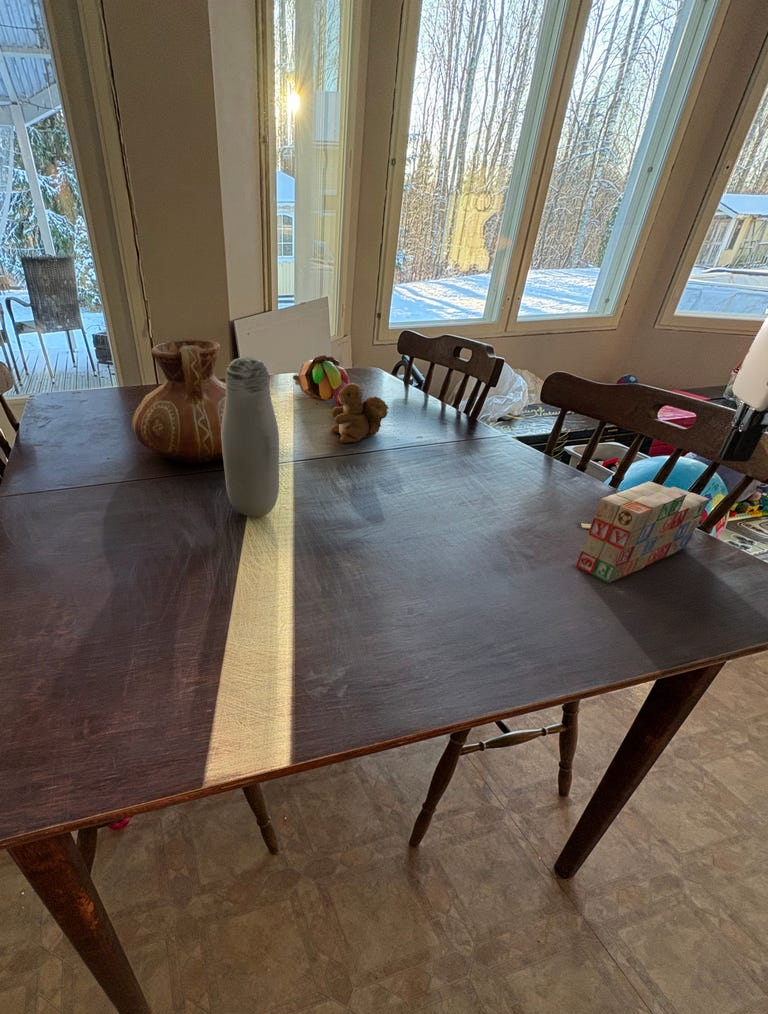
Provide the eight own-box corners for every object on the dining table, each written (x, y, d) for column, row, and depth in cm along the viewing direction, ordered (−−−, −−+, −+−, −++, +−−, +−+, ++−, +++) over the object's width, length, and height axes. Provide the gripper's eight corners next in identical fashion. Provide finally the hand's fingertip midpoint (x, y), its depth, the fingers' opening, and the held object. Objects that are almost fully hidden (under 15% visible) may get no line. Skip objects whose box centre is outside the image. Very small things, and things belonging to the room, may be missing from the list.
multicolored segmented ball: (326, 369, 178) (364, 355, 157) (321, 416, 183) (357, 410, 161) (285, 360, 173) (318, 345, 151) (281, 410, 177) (312, 403, 155)
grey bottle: (219, 516, 105) (202, 360, 87) (251, 498, 111) (242, 349, 94) (258, 529, 100) (249, 367, 83) (289, 509, 107) (287, 355, 89)
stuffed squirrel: (328, 431, 144) (329, 379, 136) (379, 429, 145) (383, 376, 137) (334, 444, 136) (336, 389, 128) (387, 441, 137) (393, 386, 129)
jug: (118, 447, 136) (94, 337, 121) (214, 422, 151) (204, 322, 135) (178, 481, 119) (159, 358, 103) (281, 450, 133) (278, 337, 118)
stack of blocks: (651, 534, 97) (682, 468, 89) (685, 548, 93) (721, 481, 85) (574, 566, 89) (601, 497, 81) (608, 584, 84) (640, 512, 77)
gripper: (890, 310, 54) (789, 482, 66) (817, 292, 65) (742, 442, 77) (804, 310, 56) (720, 478, 67) (747, 293, 67) (684, 439, 79)
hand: (732, 458), depth 72 cm, fingers closed
